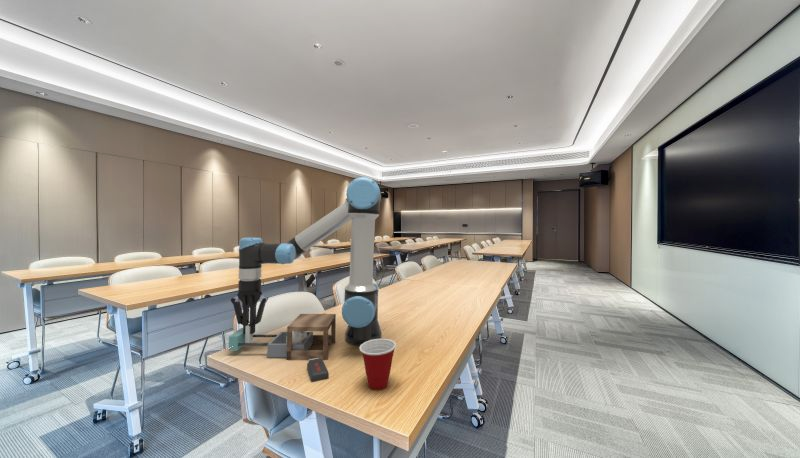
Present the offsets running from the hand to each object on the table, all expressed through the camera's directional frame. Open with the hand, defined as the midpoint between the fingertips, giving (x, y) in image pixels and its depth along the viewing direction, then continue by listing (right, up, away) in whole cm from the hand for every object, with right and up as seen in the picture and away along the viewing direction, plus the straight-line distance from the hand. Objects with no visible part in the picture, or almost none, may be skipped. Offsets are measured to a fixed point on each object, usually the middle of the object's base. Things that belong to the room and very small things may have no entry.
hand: (249, 342), depth 106 cm
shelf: (+23, -3, +1) cm, 24 cm away
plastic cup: (+49, -4, -22) cm, 54 cm away
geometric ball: (+17, -4, +2) cm, 18 cm away
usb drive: (+29, -4, -15) cm, 33 cm away
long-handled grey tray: (+8, -3, 0) cm, 9 cm away
